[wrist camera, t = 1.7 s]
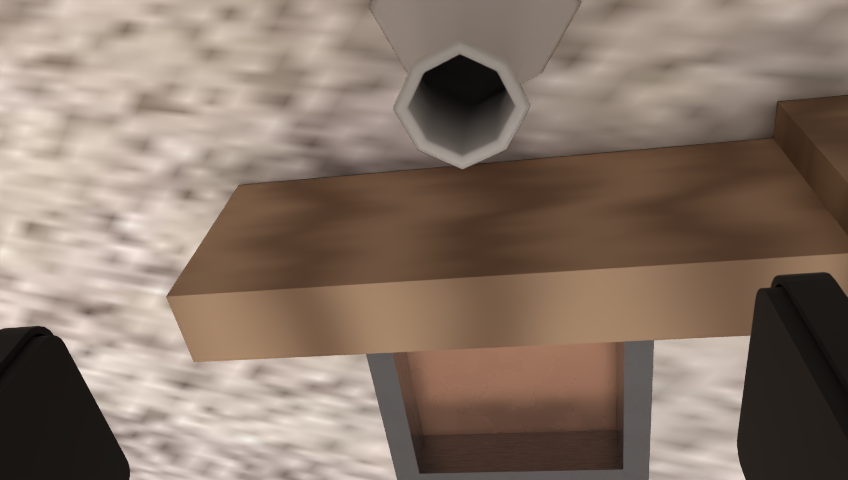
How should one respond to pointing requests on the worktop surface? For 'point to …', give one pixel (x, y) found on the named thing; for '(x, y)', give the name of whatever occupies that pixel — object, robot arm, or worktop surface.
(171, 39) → the worktop surface
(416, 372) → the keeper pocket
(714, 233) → the thick wooden plank
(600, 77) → the worktop surface
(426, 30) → the flask
